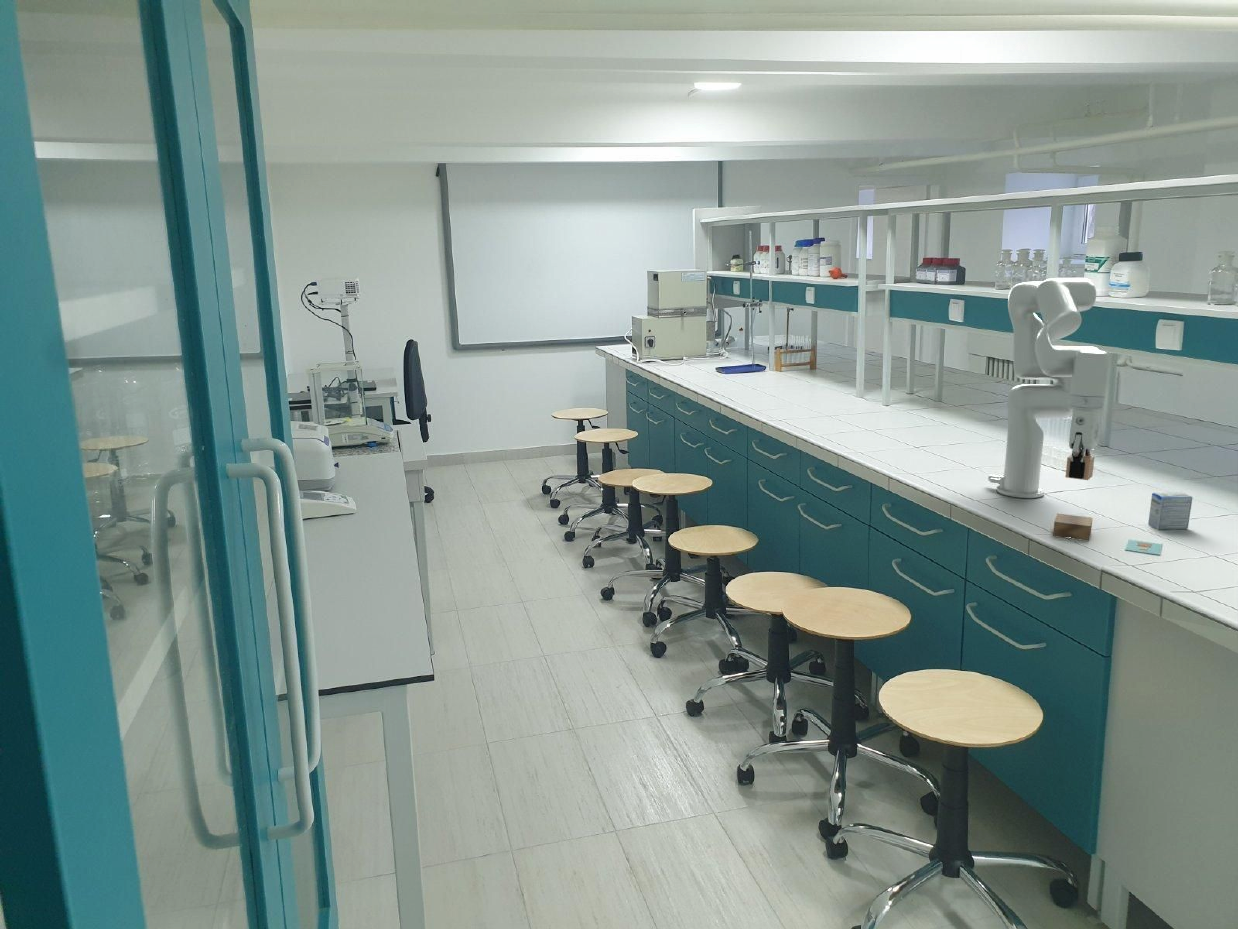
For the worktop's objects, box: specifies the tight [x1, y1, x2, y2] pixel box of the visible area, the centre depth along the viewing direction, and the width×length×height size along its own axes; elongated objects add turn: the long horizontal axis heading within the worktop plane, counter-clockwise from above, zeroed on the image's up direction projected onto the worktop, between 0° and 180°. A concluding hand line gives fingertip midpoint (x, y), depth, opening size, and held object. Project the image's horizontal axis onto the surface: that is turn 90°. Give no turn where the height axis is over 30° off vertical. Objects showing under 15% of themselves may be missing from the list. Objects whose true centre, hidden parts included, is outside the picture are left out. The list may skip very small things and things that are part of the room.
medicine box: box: [1147, 491, 1193, 530], centre depth 231 cm, size 8×4×9 cm, turn 92°
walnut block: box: [1052, 513, 1093, 542], centre depth 227 cm, size 8×8×4 cm
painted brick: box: [1065, 454, 1096, 481], centre depth 223 cm, size 5×5×6 cm
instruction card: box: [1124, 539, 1163, 556], centre depth 217 cm, size 7×9×1 cm
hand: (1078, 474), depth 224 cm, fingers closed on painted brick, 5 cm apart
